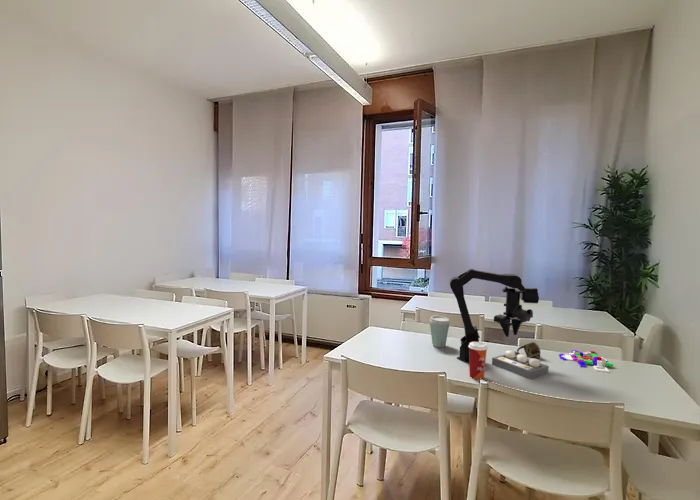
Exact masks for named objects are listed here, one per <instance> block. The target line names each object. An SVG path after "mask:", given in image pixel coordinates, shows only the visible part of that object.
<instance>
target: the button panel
mask: <svg viewBox="0 0 700 500" xmlns="http://www.w3.org/2000/svg"><path fill="white" fill-rule="evenodd" d="M500 357H504V358H505V354H502V355H498V356H494V357H492V358H491V365H493V366H496V367H498V368H500V369H503V370H506V371H508V372H511V373H514V374H517V376H518V375H519V376H521V377H524V378H527V379H529V380H531V379H535V378H537V377H540V376H543V375H546V374H549V368H550V366H549V365H547V364H543V363H541V362H540V365H539V368H533V367H532V369H529V370H526V369H523V368H520V367H517V366H515V365H512V364H509V363H507V362H504V361H501V360H498V359H497V358H500ZM507 359H508V358H507ZM509 360H511V359H509ZM529 360H530V358H527V363H525V364H523V365H526V366H529ZM512 361H515V362H517V355H515V359H512ZM518 363H519V362H518ZM521 364H522V363H521ZM529 367H531V366H529Z"/></svg>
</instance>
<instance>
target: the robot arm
mask: <svg viewBox="0 0 700 500" xmlns="http://www.w3.org/2000/svg"><path fill="white" fill-rule="evenodd" d="M472 279H475V280H481V281H487V282H493V283H499V284H501V285H503V286H505V287H503V288H502V289H501V291H502V293H506V296H505V303H503V306H504V307H505V311H504V312H503V314H496V315H494V316H493V322H495V323H499V325H500V326H501V330H502V331H503V333H504V335H505V337H507V338H508V337H509V335H510V330H511V328H512V332H513V335H514V336H517V335H518V332H519V329H520V327H521V325H522V324H523V323H526V322H530V321H531V319H532V318H533V317H534V316H533V315H534V311H533V310H532V309H531V308H530V309H523V306H522V305H523V304H521V303H520V301H522V302H523V303H524V304H538V303H539V301H540V296H539V291H538V288H536V287H532V288H531V287H530V288H529V287H525V286H524V285H523V284H522V283H523V282H522V278H521V277H520V276H518V275H517V274H515V273H495V272H489V271H484V270H478V269H474V268H469V269H468V270H466V271H464V273H463V272H462V273H461V274H459V275H458V276H453V277H451V278H450V280H449V287H450V289H451V291H452V293H453V295H454V297H455V299H456V302H457V305H458V308H459V309H458V310H459V312H460V315H461V319H462V324H463V327H464V336H463V337H461V338H460V340H459V341H460V346H459V356H457V357H456V359H458V360H460V361H463V362H464V363H469V347H468V346H469V343H470V342H480V338H481V337H480V333H479V330H478V327H477V325H473V323H472V319H471V317H470V316H471V315H470V313H469V310H468V306H467V303H466V299H465V295H464V294H465V293H464V292H465V291H464V286H465V285H466V284H468V283H469V282H470V281H472ZM516 289H517V290H516ZM510 327H511V328H510Z"/></svg>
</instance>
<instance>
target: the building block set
mask: <svg viewBox="0 0 700 500" xmlns="http://www.w3.org/2000/svg"><path fill="white" fill-rule="evenodd" d="M558 356H559V358H560V359H561V360H563V361H566V360H567V361H570V360H573V362H576V363H577V364H578V365H579V366H580V367H581V368H587V366H589V365H591V366H592V365H594V366H592V367H593V369H594V371H596V372H603V373H610V370H609V369H608V368H609V367H611V369H614V364H613V362H608V360H607V359H606V358H604V357H603V356H599V355H598V353H597V352H596V351H595V350H594V351H593V350H590V351H586V352H584V351H579V350H576V349H574V350H573V349H572V350H571V352H569V353H568V354H565V353H559V354H558ZM572 357H574V358H572ZM588 359H590V360H588ZM606 361H607V362H606ZM602 366H603V367H602ZM608 366H609V367H608ZM607 367H608V368H607ZM601 368H602V369H601Z"/></svg>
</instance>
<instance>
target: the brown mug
mask: <svg viewBox="0 0 700 500" xmlns="http://www.w3.org/2000/svg"><path fill="white" fill-rule="evenodd" d="M521 349H523V350H524V352H525V355H526V356H527V359H531V358H534V357H538V358H540V359H541V349H540V347H539V345H538V344H537V343H536V342H529V343H526V344H524V345H522V346H520V347H518V348H517V349H516V351H514V350H513V351H514V352H515V355H518V354H521V353H520V352H519V351H520V350H521Z"/></svg>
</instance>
